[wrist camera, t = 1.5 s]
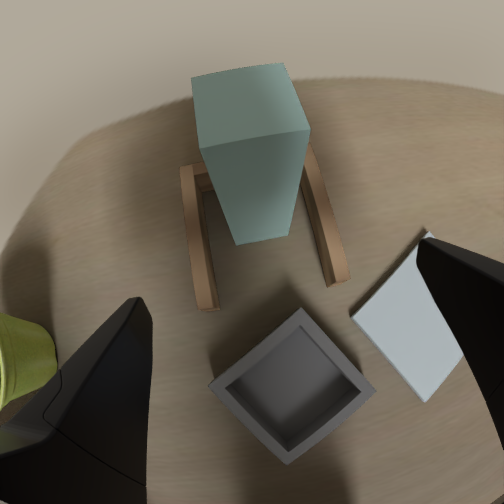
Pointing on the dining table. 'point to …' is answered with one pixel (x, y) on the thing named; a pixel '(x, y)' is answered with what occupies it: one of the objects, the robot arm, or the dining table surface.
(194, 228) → the walled lane
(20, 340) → the plant pot
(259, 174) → the block
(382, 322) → the pad
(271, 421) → the box
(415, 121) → the dining table surface
